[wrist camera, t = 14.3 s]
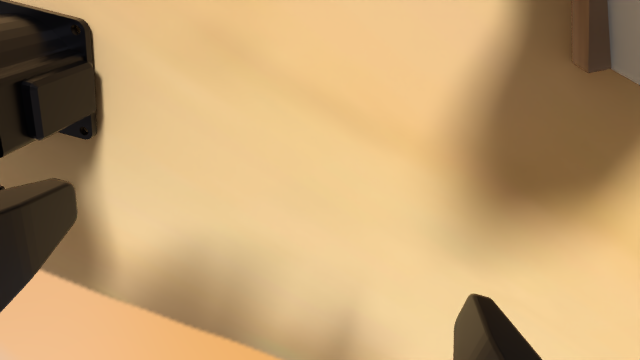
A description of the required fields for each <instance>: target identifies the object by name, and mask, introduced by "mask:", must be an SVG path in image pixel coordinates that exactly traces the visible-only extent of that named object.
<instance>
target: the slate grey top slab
mask: <svg viewBox="0 0 640 360" xmlns="http://www.w3.org/2000/svg"><path fill="white" fill-rule="evenodd" d="M607 2H608V19H609V36H610V53H611V69H612V70H614V71H615V72H617V73H619V74H621V75H622V76H624V77H626V78H628V79H630V80H631V81H633V82H635V83H637V84H638V85H640V0H607Z"/></svg>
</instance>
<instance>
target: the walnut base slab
mask: <svg viewBox="0 0 640 360" xmlns="http://www.w3.org/2000/svg"><path fill="white" fill-rule="evenodd" d="M572 63H574V64H575V65H577V66H578V67H580V68H581V69H583V70H584V71H586V72H587V73H591V72H596V71H601V70H606V69H611V53H610V36H609V19H608V2H607V0H572Z"/></svg>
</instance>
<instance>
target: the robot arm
mask: <svg viewBox="0 0 640 360" xmlns="http://www.w3.org/2000/svg"><path fill="white" fill-rule="evenodd" d="M76 25H77V26H78V27H79V28H80V31H81V32H80V33H79V32H78V31H77V29H76ZM84 127H85V128H86V129H87V130H88V132H86V130H85V129H84ZM57 132H60V133H63V134H67V135H71V136H74V137H78V138H82V139H90V138H92V137H93V136H95V135H96V133H97V126H96V96H95V80H94V68H93V64H92V48H91V33H90V27H89V25H88V24H87V23H86V22H85V21H84V20H83V19H80V18H77V17H73V16H69V15H65V14H61V13H57V12H53V11H49V10H45V9H41V8H37V7H33V6H29V5H26V4H22V3H18V2H14V1H10V0H0V158H2V157H4V156H6V155H8V154H9V153H11V152H13V151H15V150H17V149H19V148H21V147H23V146H25V145H27V144H29V143H31V142H33V141H35V140H43V139H45V138H47V137H49V136H51V135H53V134H55V133H57ZM76 218H77V203H76V193H75V187H74V185H73V184H72V183H70V182H67V181H63V180H60V179H48V180H43V181H39V182H35V183H30V184H26V185H21V186H17V187H13V188H8V189H5V188H4V187H3V186H1V185H0V312H1V311H2V310H3V309H4V308H5V307H6V306H7V305H8V304H9V303H10V302H11V301H12V300H13V298H14V297H15V296H16V295H17V294H18V293H19V292H20V291H21V290H22V289H23V288H24V286H26V284H27V283H28V282H29V281H30V280H31V279H32V278H33V276H34V275H35V274H36V273H37V272H38V270H39V269H40V268H41V266H42V265H43V264H44V263H45V261H46V260H47V259H48V257H49V256H50V255H51V253H52V252H53V251H54V249H55V248H56V247H57V245H58V244H59V243H60V241H61V240H62V239H63V237H64V236H65V235H66V233H67V232H68V231H69V230H70V228H71V227H72V226H73V224H74V223H75V221H76ZM453 360H542V359H541V357H540V356H539V355H538V354H537V353H536V351H535V350H534V349H533V348H532V347H531V345H530V344H529V343H528V342H527V341H526V339H525V338H524V337H523V336H522V335H521V333H520V332H519V331H518V330H517V329H516V327H515V326H514V325H513V324H512V323H511V322H510V320H509V319H508V318H507V317H506V316H505V314H504V313H503V312H502V311H501V310H500V308H499V307H498V306H497V305H496V304H495V302H494V301H493V300H492V299H491V298H489V297H485V296H482V295H478V294H470V295H469V297H468V298H467V300H466V302H465V304H464V305H463V307H462V309H461V311H460V313H459V315H458V317H457V319H456V322H455V326H454V354H453Z"/></svg>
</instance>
